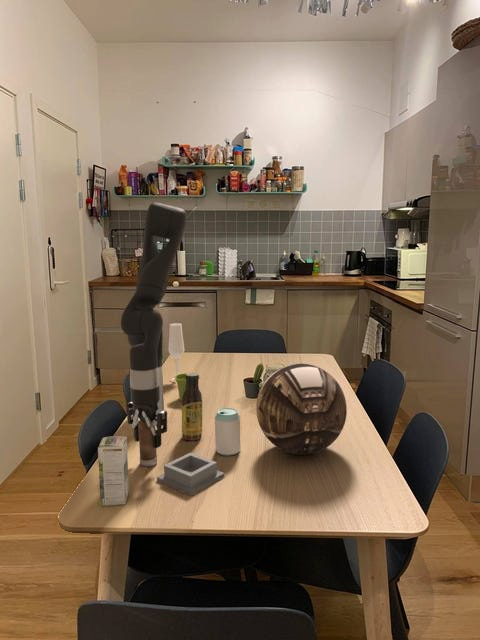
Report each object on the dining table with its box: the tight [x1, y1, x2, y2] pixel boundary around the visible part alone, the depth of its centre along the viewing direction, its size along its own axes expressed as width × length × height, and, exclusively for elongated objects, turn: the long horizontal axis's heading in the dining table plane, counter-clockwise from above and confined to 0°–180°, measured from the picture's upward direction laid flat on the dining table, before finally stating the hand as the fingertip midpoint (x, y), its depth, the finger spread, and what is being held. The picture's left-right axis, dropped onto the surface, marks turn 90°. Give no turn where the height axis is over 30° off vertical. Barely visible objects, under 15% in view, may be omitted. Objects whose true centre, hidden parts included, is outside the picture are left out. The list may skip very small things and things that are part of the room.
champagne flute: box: [168, 323, 185, 381], centre depth 210 cm, size 7×7×24 cm
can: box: [214, 407, 241, 457], centre depth 142 cm, size 7×7×12 cm
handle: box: [138, 420, 158, 469], centre depth 135 cm, size 5×5×12 cm
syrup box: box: [97, 435, 130, 507], centre depth 117 cm, size 6×6×14 cm
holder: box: [156, 452, 225, 497], centre depth 127 cm, size 12×12×4 cm
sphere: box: [255, 363, 348, 456], centre depth 141 cm, size 25×25×25 cm
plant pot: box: [173, 372, 201, 401], centre depth 188 cm, size 9×9×9 cm
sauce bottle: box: [181, 372, 203, 441], centre depth 152 cm, size 6×6×20 cm
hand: (147, 443), depth 135 cm, fingers open, 7 cm apart
